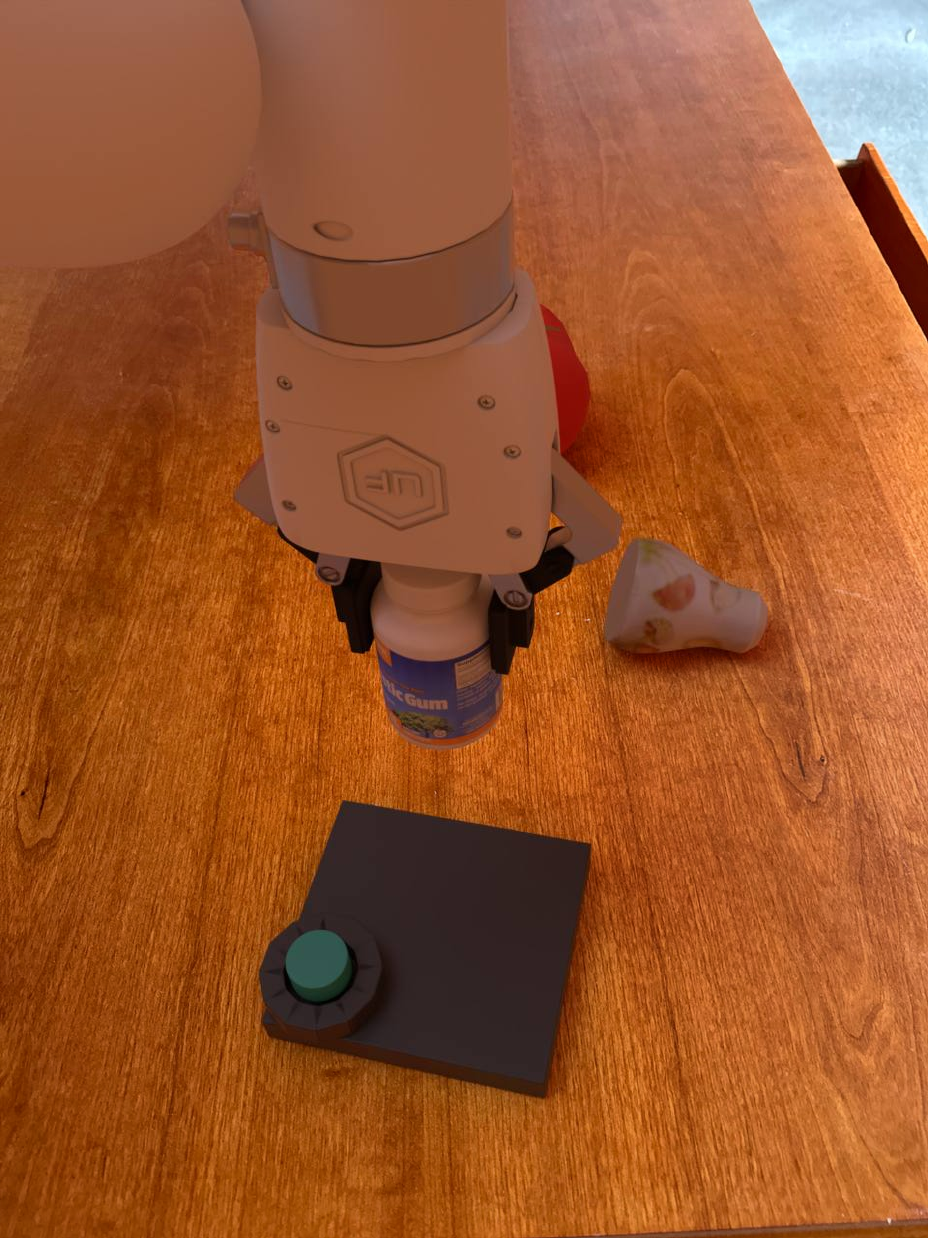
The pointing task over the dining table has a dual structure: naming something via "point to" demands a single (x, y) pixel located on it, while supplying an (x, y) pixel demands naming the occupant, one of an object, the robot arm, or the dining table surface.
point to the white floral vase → (678, 604)
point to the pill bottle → (436, 655)
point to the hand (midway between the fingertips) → (437, 636)
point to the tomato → (566, 380)
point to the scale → (438, 946)
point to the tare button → (318, 965)
